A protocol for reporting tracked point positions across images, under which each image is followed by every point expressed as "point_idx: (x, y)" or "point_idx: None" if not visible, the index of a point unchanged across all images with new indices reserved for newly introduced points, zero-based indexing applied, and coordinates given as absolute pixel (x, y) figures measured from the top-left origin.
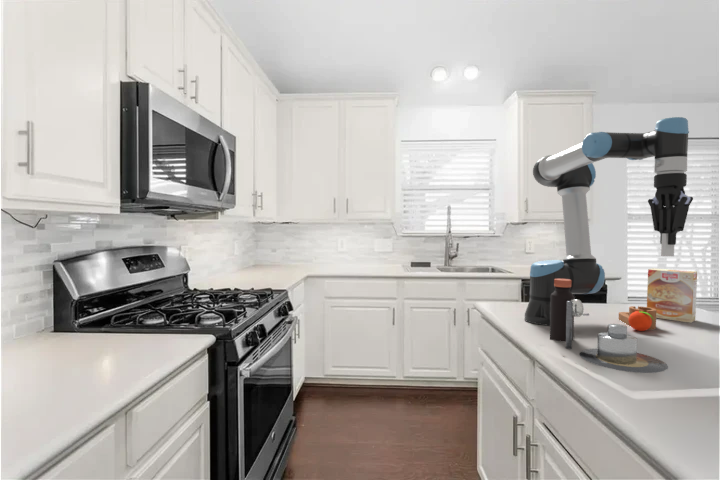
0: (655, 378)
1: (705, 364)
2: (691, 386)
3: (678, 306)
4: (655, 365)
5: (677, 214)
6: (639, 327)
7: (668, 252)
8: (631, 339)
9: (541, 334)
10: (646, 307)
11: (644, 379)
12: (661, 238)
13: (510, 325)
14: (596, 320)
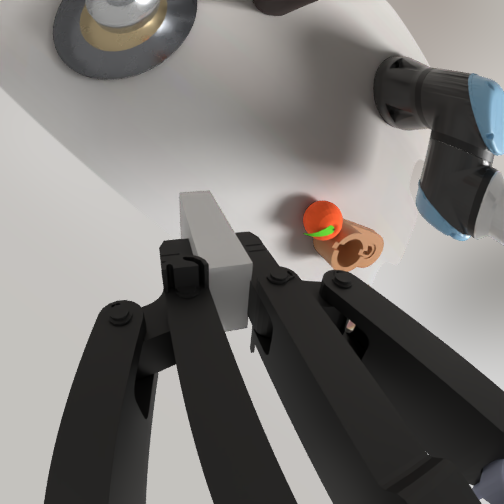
0: (51, 31)
1: (103, 165)
2: (17, 67)
3: (347, 324)
4: (81, 51)
5: (76, 477)
6: (309, 206)
7: (181, 219)
8: (97, 7)
9: (328, 7)
10: (353, 265)
11: (52, 12)
12: (259, 253)
13: (387, 10)
14: (382, 188)
